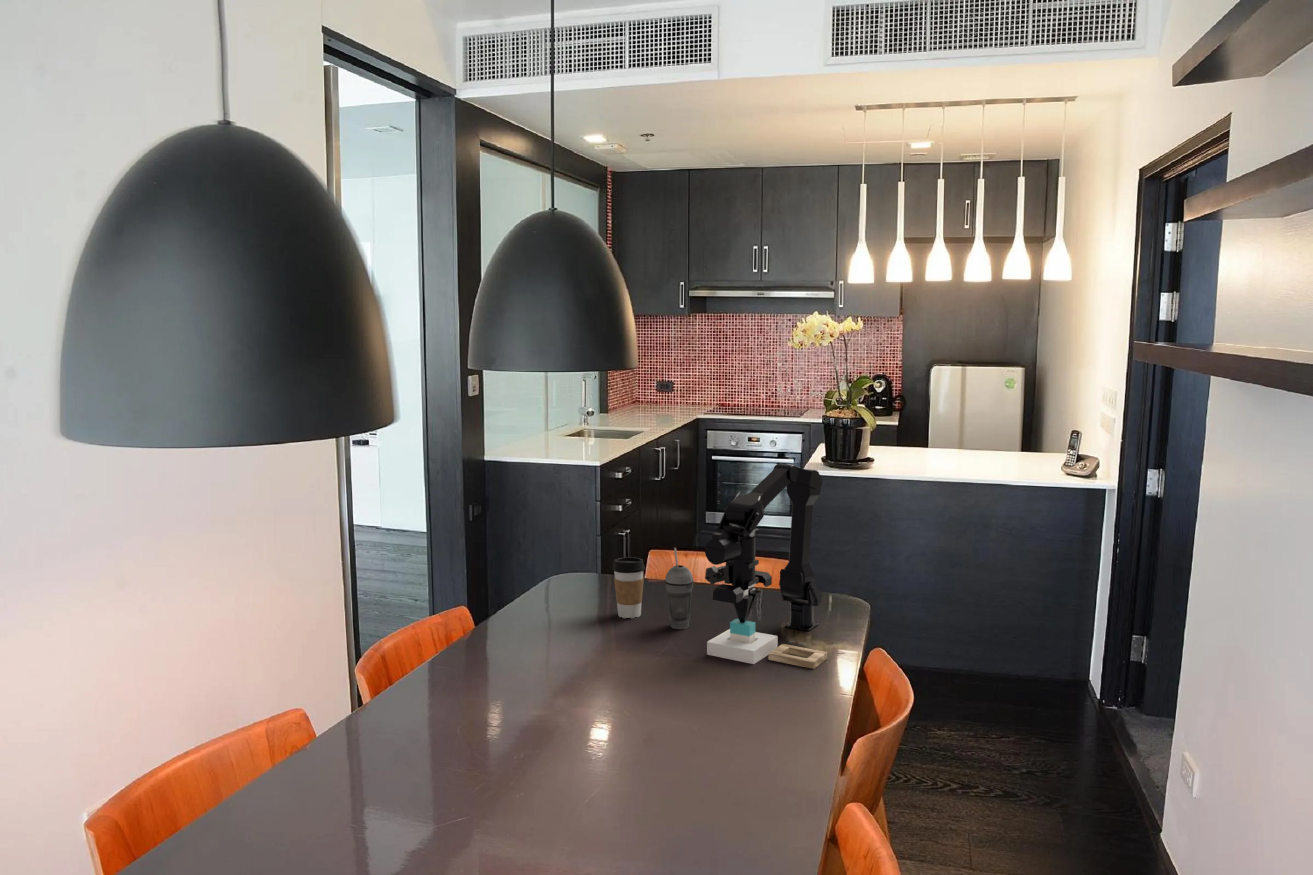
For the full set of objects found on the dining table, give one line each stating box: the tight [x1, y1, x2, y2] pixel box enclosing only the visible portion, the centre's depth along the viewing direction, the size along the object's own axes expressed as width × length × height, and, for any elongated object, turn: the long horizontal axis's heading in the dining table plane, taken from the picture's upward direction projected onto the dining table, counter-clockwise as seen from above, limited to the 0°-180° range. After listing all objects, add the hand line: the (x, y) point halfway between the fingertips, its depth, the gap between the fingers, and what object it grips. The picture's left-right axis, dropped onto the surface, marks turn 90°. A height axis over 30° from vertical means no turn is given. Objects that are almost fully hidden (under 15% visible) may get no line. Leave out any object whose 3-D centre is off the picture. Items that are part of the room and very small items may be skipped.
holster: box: [768, 643, 828, 670], centre depth 211 cm, size 7×11×2 cm
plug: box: [729, 618, 756, 644], centre depth 216 cm, size 3×5×7 cm, turn 58°
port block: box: [706, 628, 779, 665], centre depth 217 cm, size 12×12×3 cm
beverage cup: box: [664, 547, 695, 630], centre depth 234 cm, size 7×7×20 cm
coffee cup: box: [612, 556, 646, 619], centre depth 244 cm, size 8×8×15 cm
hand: (742, 622), depth 216 cm, fingers closed, pressing on plug
